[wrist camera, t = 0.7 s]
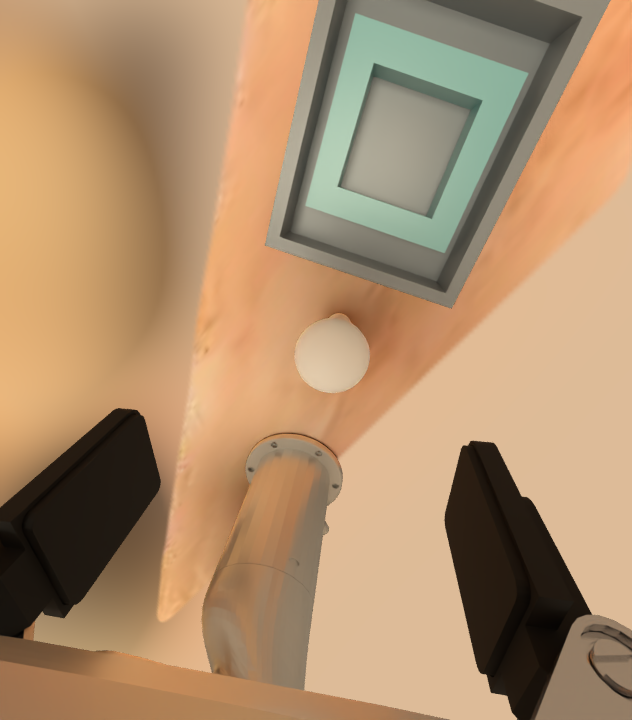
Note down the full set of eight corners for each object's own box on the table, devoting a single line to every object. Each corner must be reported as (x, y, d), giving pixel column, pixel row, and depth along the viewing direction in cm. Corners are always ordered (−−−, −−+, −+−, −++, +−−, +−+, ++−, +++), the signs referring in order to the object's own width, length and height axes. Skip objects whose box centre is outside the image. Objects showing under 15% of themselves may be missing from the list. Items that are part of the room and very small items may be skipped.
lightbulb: (367, 290, 33) (367, 332, 23) (371, 348, 36) (372, 407, 26) (306, 295, 34) (281, 337, 25) (313, 351, 37) (293, 408, 27)
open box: (345, -42, 23) (339, -96, 19) (565, 35, 24) (610, -1, 19) (279, 237, 32) (264, 245, 28) (440, 292, 32) (451, 308, 28)
